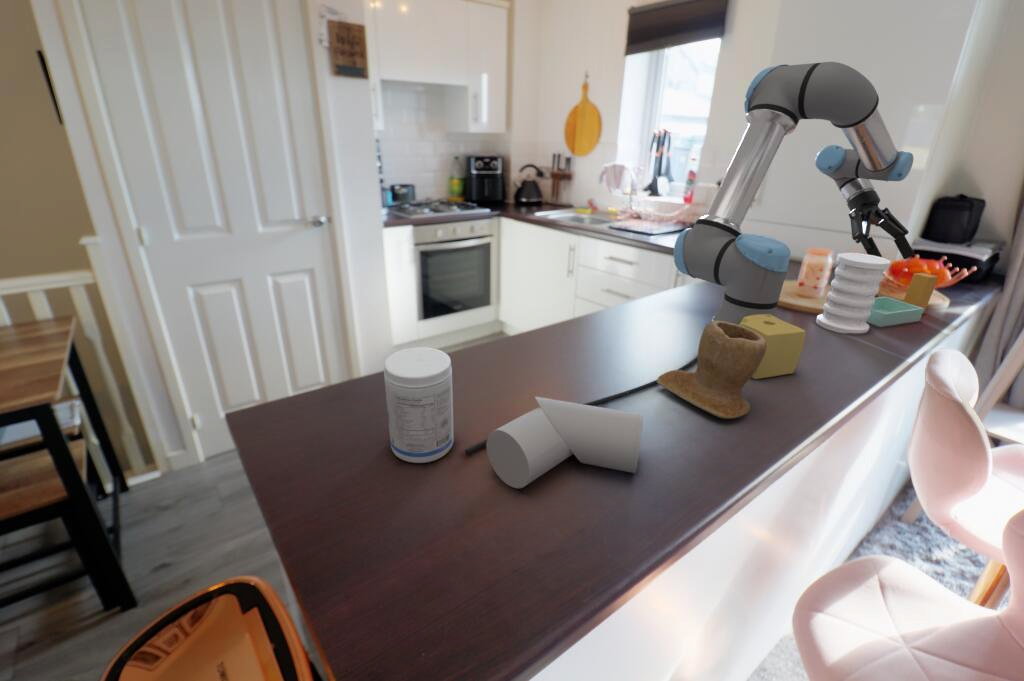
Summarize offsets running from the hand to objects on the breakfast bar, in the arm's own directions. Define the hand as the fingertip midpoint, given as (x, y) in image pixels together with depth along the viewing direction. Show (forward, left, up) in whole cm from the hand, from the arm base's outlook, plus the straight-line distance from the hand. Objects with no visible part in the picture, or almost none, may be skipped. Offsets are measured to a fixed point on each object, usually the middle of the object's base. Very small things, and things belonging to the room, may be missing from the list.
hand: (893, 258), depth 137 cm
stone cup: (-89, -31, -14) cm, 95 cm away
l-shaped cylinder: (-121, -40, -14) cm, 128 cm away
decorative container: (-29, -11, -14) cm, 34 cm away
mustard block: (+1, -9, -13) cm, 16 cm away
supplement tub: (-141, -29, -14) cm, 144 cm away
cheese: (-69, -23, -14) cm, 74 cm away
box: (-13, -10, -13) cm, 21 cm away
